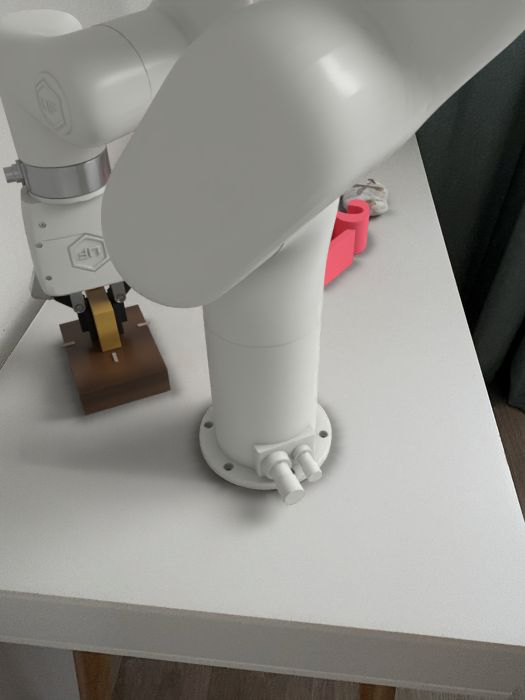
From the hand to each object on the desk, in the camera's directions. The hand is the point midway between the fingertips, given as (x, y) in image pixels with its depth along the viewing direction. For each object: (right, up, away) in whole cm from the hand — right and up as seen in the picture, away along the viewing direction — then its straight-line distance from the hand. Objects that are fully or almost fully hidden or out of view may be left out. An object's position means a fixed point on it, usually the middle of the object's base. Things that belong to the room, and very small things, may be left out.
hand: (105, 329), depth 68 cm
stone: (+32, +20, +27) cm, 46 cm away
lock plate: (+1, -4, +1) cm, 4 cm away
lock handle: (0, -1, +1) cm, 1 cm away
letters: (+26, +10, +17) cm, 32 cm away
